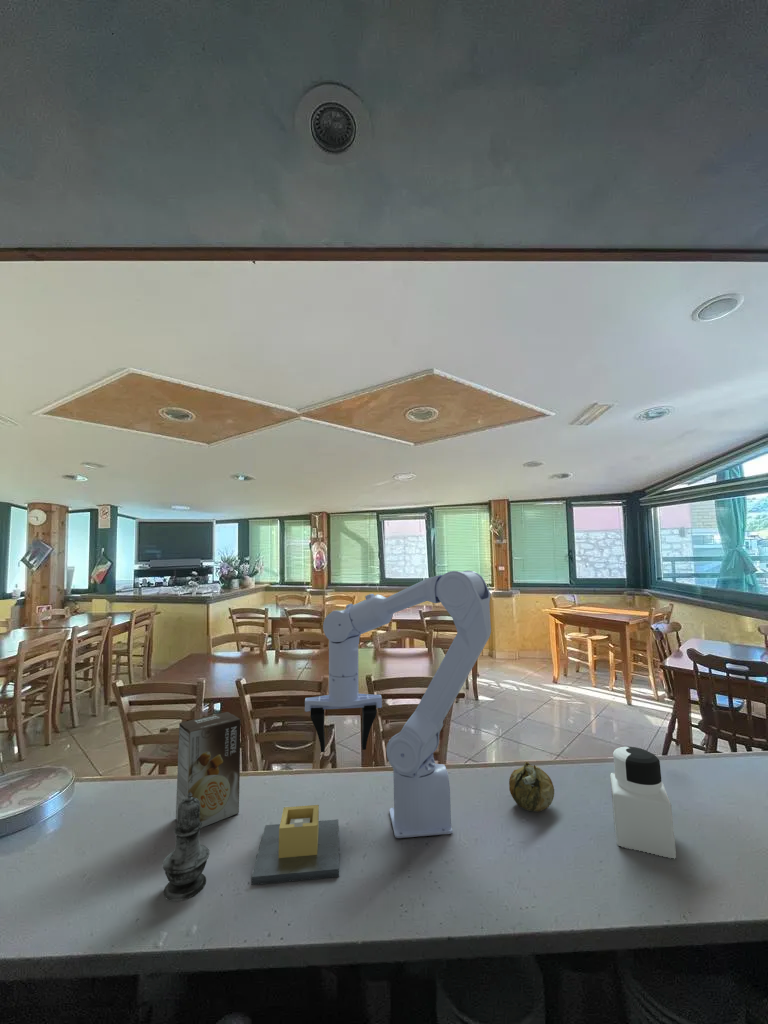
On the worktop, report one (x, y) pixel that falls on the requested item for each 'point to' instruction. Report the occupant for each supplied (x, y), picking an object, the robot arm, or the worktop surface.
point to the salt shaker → (186, 854)
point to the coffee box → (210, 765)
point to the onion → (531, 788)
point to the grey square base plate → (298, 867)
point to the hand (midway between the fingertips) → (343, 748)
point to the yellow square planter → (299, 831)
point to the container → (641, 803)
